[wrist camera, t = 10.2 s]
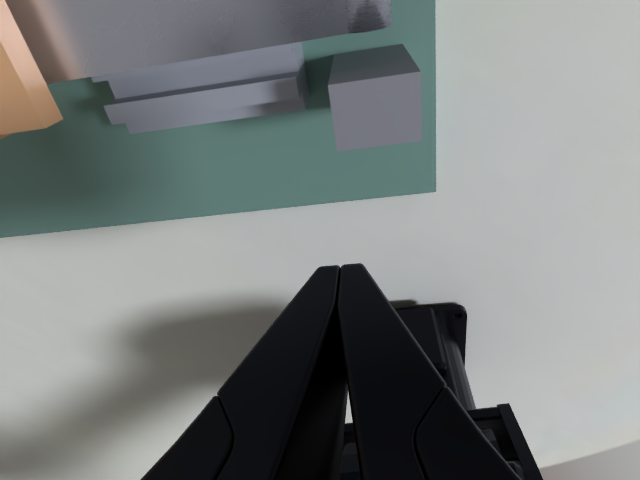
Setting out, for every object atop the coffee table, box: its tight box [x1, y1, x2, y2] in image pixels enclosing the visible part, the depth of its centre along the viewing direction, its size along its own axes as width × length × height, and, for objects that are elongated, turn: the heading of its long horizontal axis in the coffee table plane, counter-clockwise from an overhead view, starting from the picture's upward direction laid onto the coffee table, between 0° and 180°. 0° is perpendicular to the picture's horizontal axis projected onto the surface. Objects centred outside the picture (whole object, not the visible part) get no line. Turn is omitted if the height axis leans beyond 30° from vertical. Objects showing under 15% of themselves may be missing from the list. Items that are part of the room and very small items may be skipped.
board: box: [0, 0, 436, 238], centre depth 14 cm, size 18×23×6 cm
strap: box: [5, 0, 392, 84], centre depth 12 cm, size 3×13×1 cm, turn 99°
